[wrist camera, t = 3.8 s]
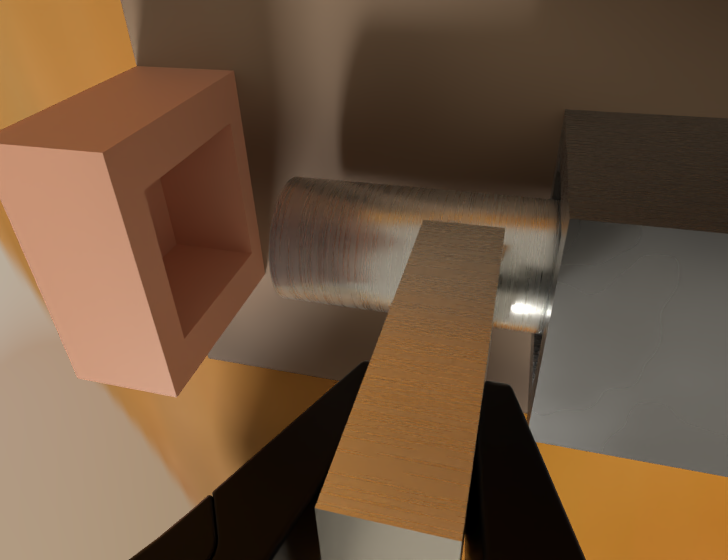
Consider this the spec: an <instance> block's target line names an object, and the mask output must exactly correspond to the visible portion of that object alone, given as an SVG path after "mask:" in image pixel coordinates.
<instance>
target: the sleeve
mask: <svg viewBox="0 0 728 560" xmlns="http://www.w3.org/2000/svg"><path fill="white" fill-rule="evenodd" d="M550 199H553V200H561V235H562V236H561V241H560V246H559V251H558V257H557V262H556V267H555V272H554V277H553V283H552V288H551V293H550V298H549V304H548V309H547V314H546V319H545V324H544V330H543V335H541V334H534V333H531V353H530V372H529V392H528V411H527V423H528V426H529V428H530V430H531V433H532V435H533V437H534V440H535V442H540V443H545V444H551V445H556V446H562V447H567V448H573V449H578V450H584V451H589V452H594V453H600V454H605V455H611V456H616V457H622V458H627V459H633V460H638V461H643V462H649V463H654V464H660V465H665V466H671V467H676V468H682V469H687V470H692V471H698V472H703V473H709V474H714V475H720V476H725V477H728V118H712V117H694V116H676V115H658V114H640V113H622V112H604V111H586V110H568V109H565V113H564V119H563V125H562V131H561V137H560V142H559V148H558V154H557V160H556V166H555V172H554V177H553V183H552V189H551V195H550Z"/></svg>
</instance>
